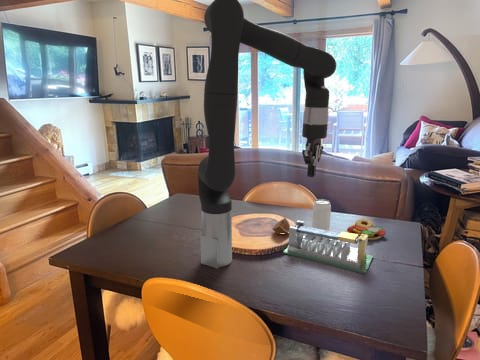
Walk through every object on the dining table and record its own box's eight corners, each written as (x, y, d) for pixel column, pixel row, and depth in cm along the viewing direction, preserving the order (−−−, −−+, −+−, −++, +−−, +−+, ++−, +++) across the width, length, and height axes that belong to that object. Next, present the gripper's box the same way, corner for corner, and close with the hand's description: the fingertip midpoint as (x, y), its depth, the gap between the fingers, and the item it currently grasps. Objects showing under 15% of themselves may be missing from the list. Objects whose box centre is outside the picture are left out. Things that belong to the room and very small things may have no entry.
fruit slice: (287, 239, 127) (287, 226, 125) (269, 236, 129) (269, 224, 128) (292, 230, 134) (293, 218, 133) (275, 228, 136) (276, 216, 135)
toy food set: (362, 224, 141) (362, 217, 140) (392, 236, 130) (393, 228, 129) (339, 232, 133) (340, 224, 132) (369, 245, 123) (370, 236, 122)
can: (329, 236, 129) (331, 205, 126) (311, 234, 131) (313, 203, 127) (328, 229, 136) (331, 199, 132) (311, 227, 137) (313, 198, 134)
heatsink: (283, 253, 116) (284, 227, 114) (296, 239, 126) (298, 216, 124) (365, 274, 104) (368, 246, 101) (373, 257, 114) (375, 231, 111)
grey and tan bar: (291, 233, 117) (291, 227, 117) (296, 228, 121) (296, 223, 121) (356, 246, 107) (356, 239, 107) (359, 240, 111) (359, 234, 110)
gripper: (311, 119, 116) (307, 170, 121) (295, 122, 105) (291, 179, 110) (333, 121, 113) (329, 174, 117) (319, 124, 102) (315, 182, 106)
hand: (311, 176), depth 114 cm, fingers closed
